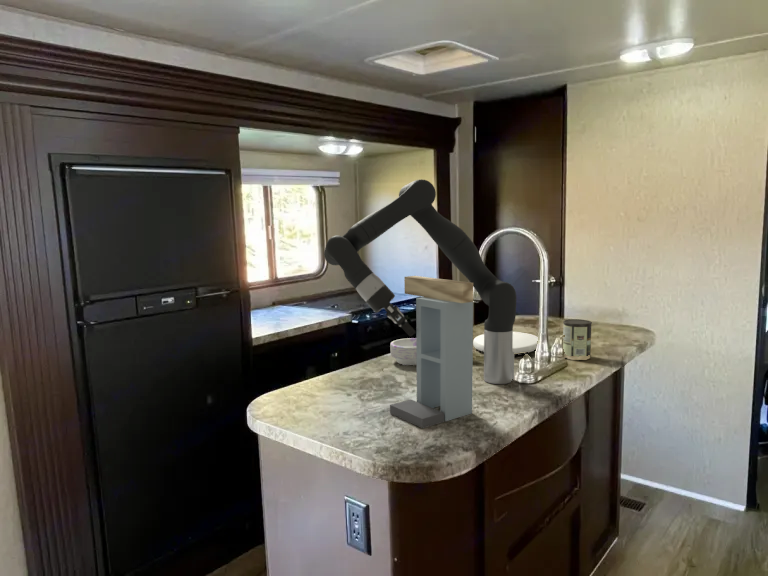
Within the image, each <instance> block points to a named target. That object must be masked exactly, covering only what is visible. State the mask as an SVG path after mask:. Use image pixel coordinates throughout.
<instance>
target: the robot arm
mask: <svg viewBox="0 0 768 576" xmlns="http://www.w3.org/2000/svg"><path fill="white" fill-rule="evenodd" d="M436 191H437V190H436V188H435V186H434V185H433V184H432V182H430V181H428V180H426V179H415V180H413V181H411V182H409V183H408V184H405V185H403V186H402V187H401V188H400V190H399V192H398V197H397V198H396V199H394V200H393V201H391V202H390V203H387V204H386V205H385V206H382V207H381V208H379V209H378V210H376V211H373V212H371V213H370V214H368V215H367V216H365V217H363V218H362V219H361V220H359V221H357V222H355V224H353V225H352V226H351V227H350V228H349V229H348V230H347V232H346V233H345V234H344V235H333V236H331V237H329V239H328V240H327V242H326V244H325V247H324V252H323V256H324V259H325V261H326V263H328V264H330V265H331V266H339V267H340V268H341V269H342V271H343V274H344V277H345V279H346V280H347V281H348V282H349V283H350V285H351V286H352V287H353V288H354V290H355V291H357V293H358V294H359V296H360V297H361V299H363V300H364V302H365V303H366V304H367V305H368V306H369V307H370V308H371V309H372V311H373V312H374V313H375V314H376V313H379V312H380V311H382V310H383V309H384V310H385V316H387V318H388V319H390V320H391V321H392V322H393V323H394V324H396V325H397V326H398V327H400V328H401V329H402V330H403V331H404V332H405V334H407V335H408V336H409V337H413V336H414V335H415V334H416V330H415V328H414V327H412V325H410V323H409V322H408V321H407V319H406V317H405V315H404V313H402V312H401V310H400V308H399V307H398V306H397V305H396V304H395V305H394V304H392V303H391V302H392V300H394V298H395V297H396V296H395V293H394V292H393V291H392V290H391V289H390V288H389V287H388V286H387V284H385V282H384V281H383V280H382V279H381V278H380V277H379V276H378V275H377V274H375V273H374V272H373V271H372V270H371V268H370V267H369V266H368V265H367V264H366V263H365V262H364V261H363V259H362V258H361V256H360V254H359V253H358V252H359V251H360V250H362V248H364V247H365V246H367V245H369V244H370V243H372V242H374V241H375V240H376V239H377V238H379V237H380V236H382V235H383V234H384V233H386V232H387V231H389V230H390V229H391V228H392V227H394V226H396V225H397V224H398V223H399V222H401V221H403V220H404V219H406V218H408V217H412V218H413V220H415V221H416V222H417V223H418V224H419V225H420V226H421V227H422V228H423V229H424V231H425V232H426V233H427V235H428V236H429V237H430V238H431V239H432V240H433V242H434V243H435V244H436V245H437V246H438V247H439V249H440V250H441V252H442V253H443V255H445V257H447V258H448V259H449V261H450V262H451V263H452V264H453V265H454V266H455V267H456V268H457V269H458V271H459V272H460V273H461V274H462V275H463V276H464V277H465V278H466V279H467V280H468V281H469V282H470V283H473V289H475V291H476V293H477V294H478V295H479V297H480V298H481V300H482V302H483V303H484V304H485V305H486V306H488V317H487V319H485V320H484V321H483V322H484V323H483V328H484V329H483V330H484V331H483V334H484V352H483V382H486V383H487V384H488V383H489V384H492V385H493V384H494V385H495V384H496V385H505V384H510V383H512V382H511V381H513V380H512V379H514V380H515V355H514V352H513V351H512V347H513V332H514V329H513V328H514V324H515V322H516V313H517V292H516V289H515V287H514V286H513V285H512V284H511V283H509V282H506V281H502V280H500V279H498V278H497V277H496V275H495V274H493V273H492V272H491V270H490V269H489V268H488V267H487V266H486V264H485V263H484V261H483V258H482V257H481V254H480V252H479V250H478V248H477V246H476V245H475V243H474V242H473V240H472V239H471V238H470V237H469V236H468V235H467V233H466V232H465V231H464V230H463V229H462V228H461V227H459V226H458V225H457V224H455V223H453V222H452V221H451V220H449V219H448V218H446V217H444V216H443V215H442V214H440V213H439V211H438V210H437V209H436V208H435V207H434V206H433V203H434V202H435V200H436V197H437V196H436V195H437V193H436Z"/></svg>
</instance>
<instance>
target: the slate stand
mask: <svg viewBox="0 0 768 576" xmlns="http://www.w3.org/2000/svg"><path fill="white" fill-rule="evenodd" d="M415 299H416V300H415V303H416V306H415V307H416V309H415V310H416V311H415V312H416V315H415V316H416V318H415V319H416V320H415V321H416V326H415V327H416V328H415V329H416V330H415V334H416V337H415V338H416V350H417V365H416V402H419V403H421V404H424V405H426V406H429V407H431V408H433V409H436V408H438V407H439V408H440V409H439V411H441V412H443V413H444V422H449V421H451V420H454V419H457V418H462V417H465V416H468V415H471V414H473V370H474V369H473V364H474V363H473V357H474V355H473V354H474V352H473V351H474V345H473V340H474V339H473V338H474V334H473V333H474V331H473V330H474V301H473V302H468V303H458V302H452V301H446V300H440V299H434V298H428V297H421V296H419V297H416V298H415Z"/></svg>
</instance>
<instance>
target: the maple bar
mask: <svg viewBox="0 0 768 576" xmlns="http://www.w3.org/2000/svg"><path fill="white" fill-rule="evenodd" d="M403 280H404V294H405V295H411V296H417V297H428V298H434V299H440V300H446V301H452V302H458V303H468V302H473V303H474V286H473V283H471V282H470V281H469V282H467V281H462V280H461V281H460V280H452V279H443V278H437V277H435V278H434V277H428V276H422V275H421V276H420V275H410V276H409V275H408V276H407V275H406V276H404V279H403Z"/></svg>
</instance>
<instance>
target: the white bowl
mask: <svg viewBox="0 0 768 576" xmlns="http://www.w3.org/2000/svg"><path fill="white" fill-rule="evenodd" d="M389 347H390V356H391V357H392V358H394V359H395V361H396V362H397V363H398V364H400V365H401V364H402V366H408V365H413V366H417V350H416V337H415V338H414V337H411V338H410V337H409V338H408V337H407V338H400V339H396V340H393V341H391V342H390V346H389Z"/></svg>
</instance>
